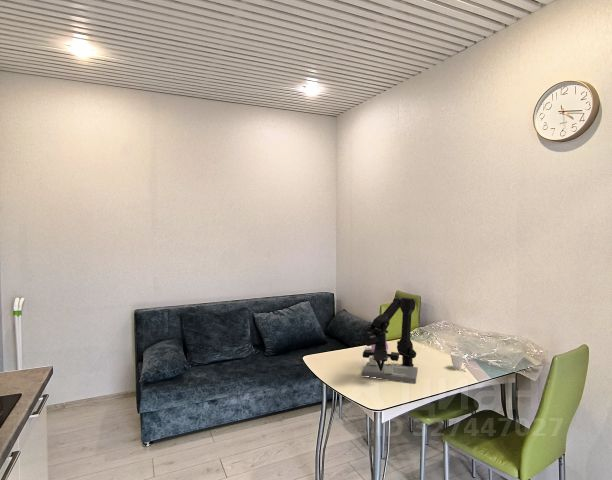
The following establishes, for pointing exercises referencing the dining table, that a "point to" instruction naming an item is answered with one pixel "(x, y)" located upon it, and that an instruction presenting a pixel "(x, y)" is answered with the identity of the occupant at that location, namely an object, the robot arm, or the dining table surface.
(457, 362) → the cup
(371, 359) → the block
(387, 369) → the sage fader
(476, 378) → the dining table surface
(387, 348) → the teapot
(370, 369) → the console
